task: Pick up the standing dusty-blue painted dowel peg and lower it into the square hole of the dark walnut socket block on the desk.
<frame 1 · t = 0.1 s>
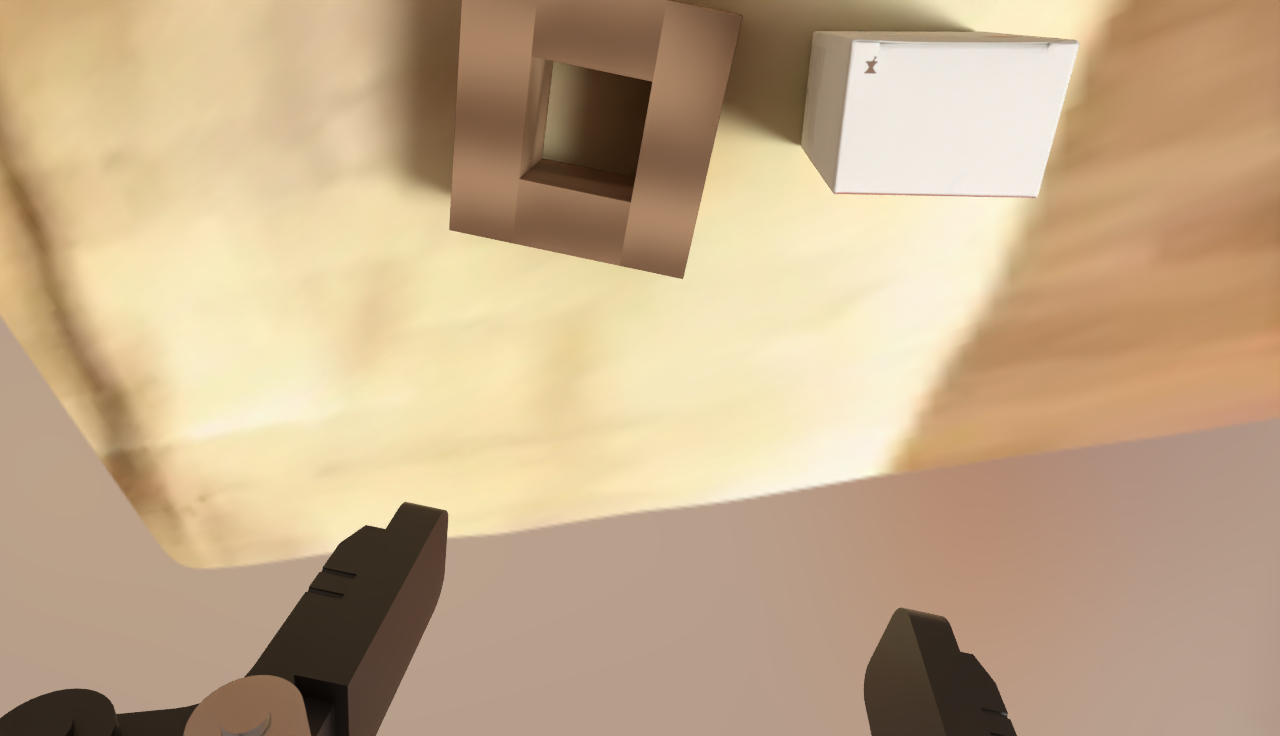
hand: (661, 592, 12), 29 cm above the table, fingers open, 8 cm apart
socket block: (599, 116, 37), on the table
small box: (885, 90, 35), on the table
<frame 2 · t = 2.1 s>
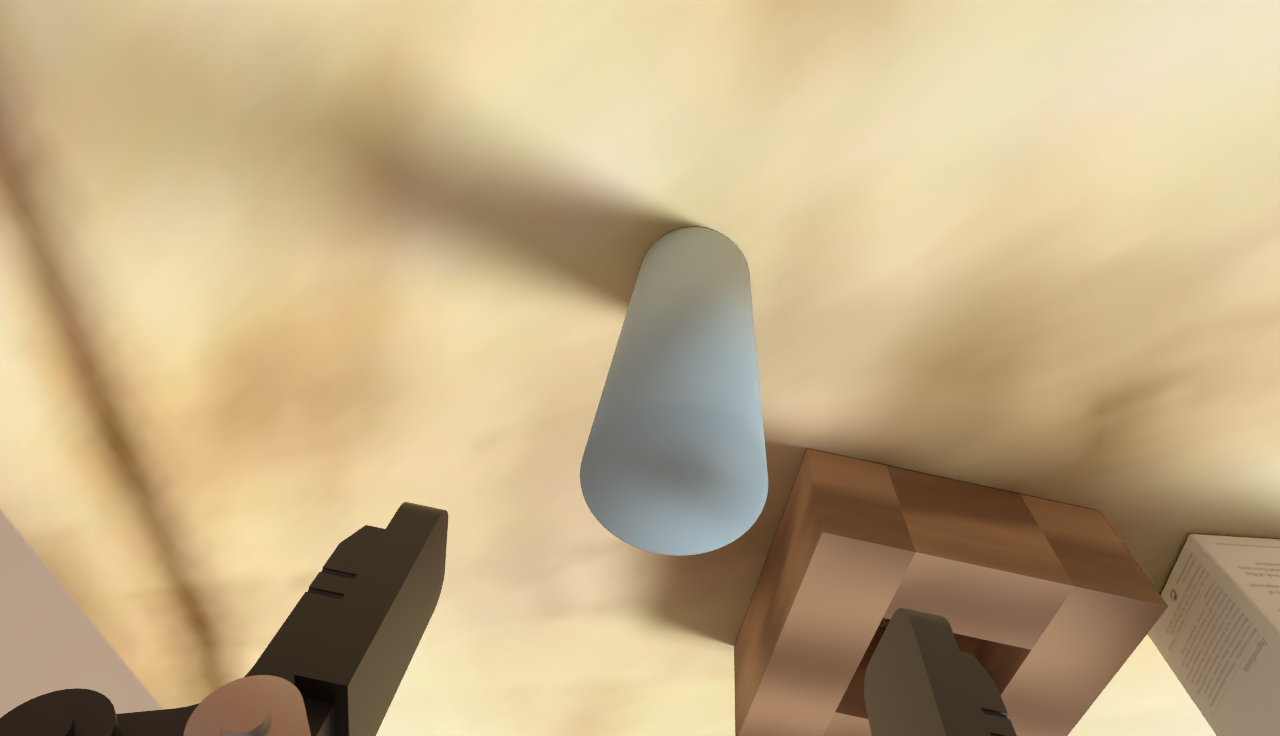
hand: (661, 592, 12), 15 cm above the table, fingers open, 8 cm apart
peg: (693, 280, 25), on the table
socket block: (899, 585, 31), on the table
small box: (1260, 583, 29), on the table
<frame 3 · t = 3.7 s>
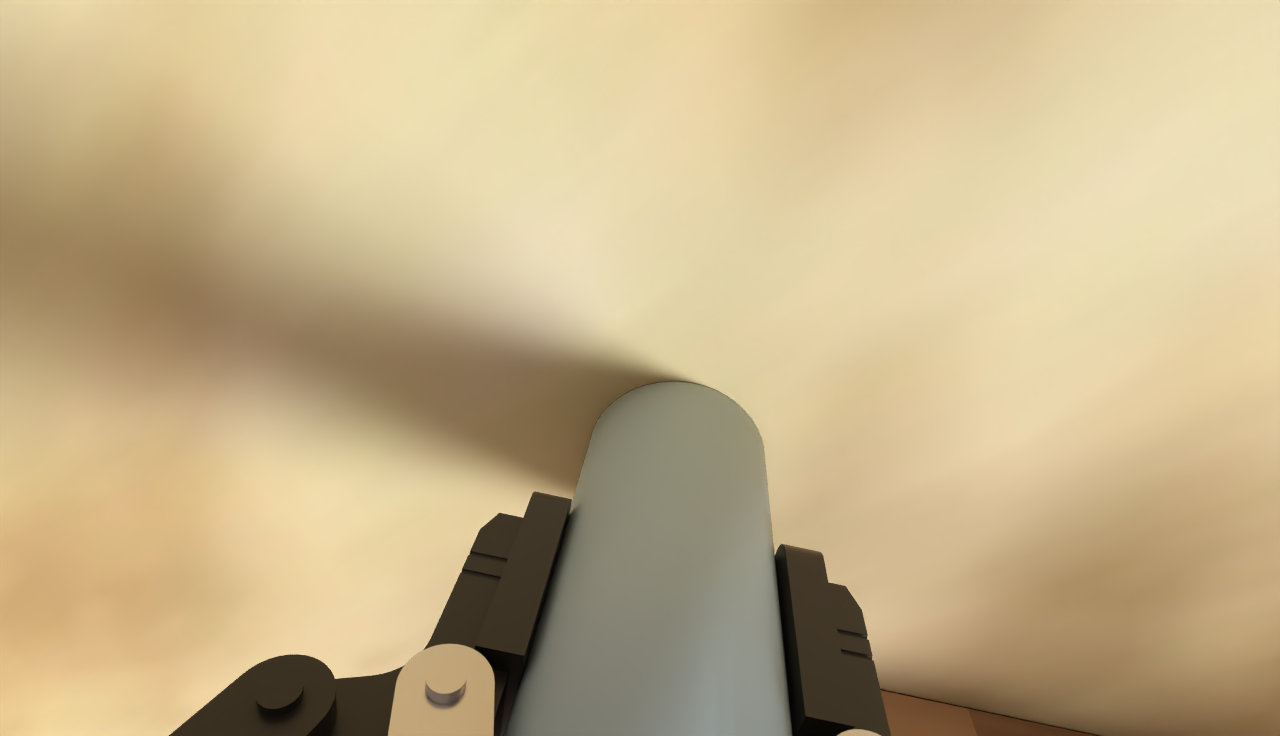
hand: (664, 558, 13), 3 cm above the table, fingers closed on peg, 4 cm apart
peg: (675, 458, 16), on the table, touching gripper
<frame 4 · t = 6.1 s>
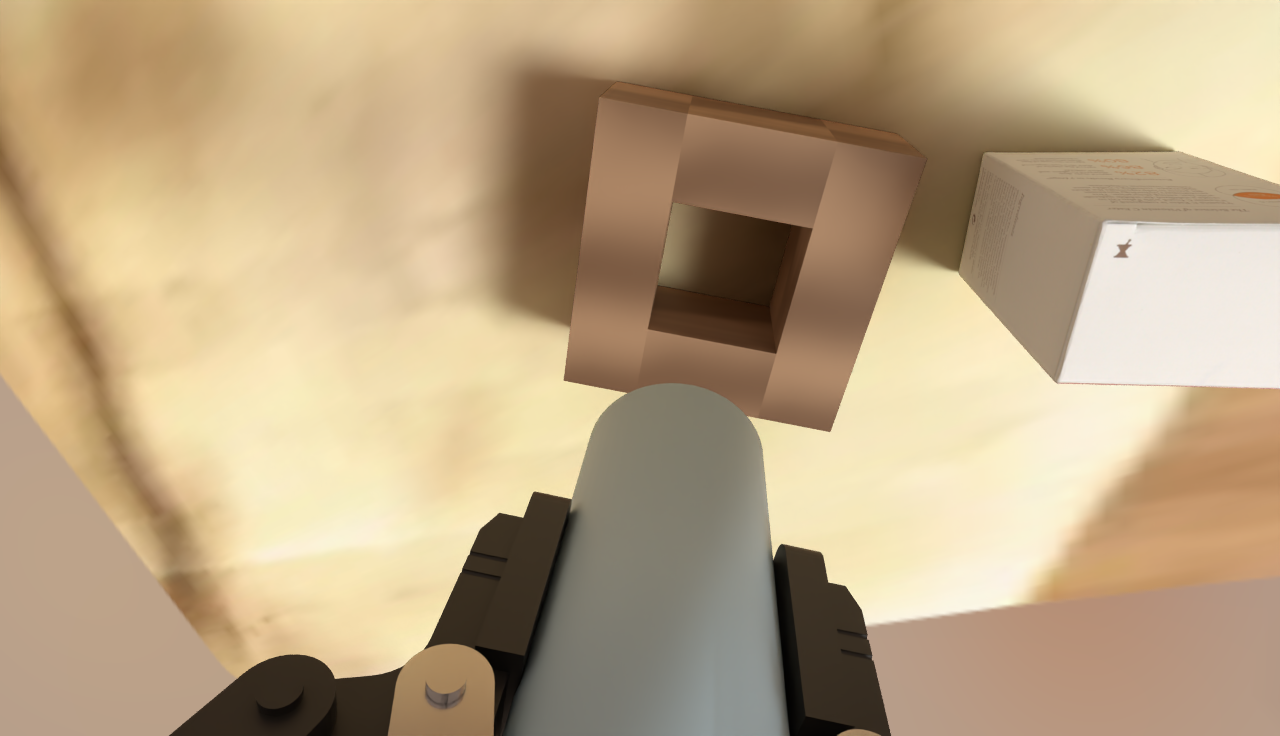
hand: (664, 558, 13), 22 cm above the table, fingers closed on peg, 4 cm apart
peg: (674, 459, 16), point 18 cm above the table, touching gripper
socket block: (725, 242, 33), on the table
small box: (1061, 213, 31), on the table
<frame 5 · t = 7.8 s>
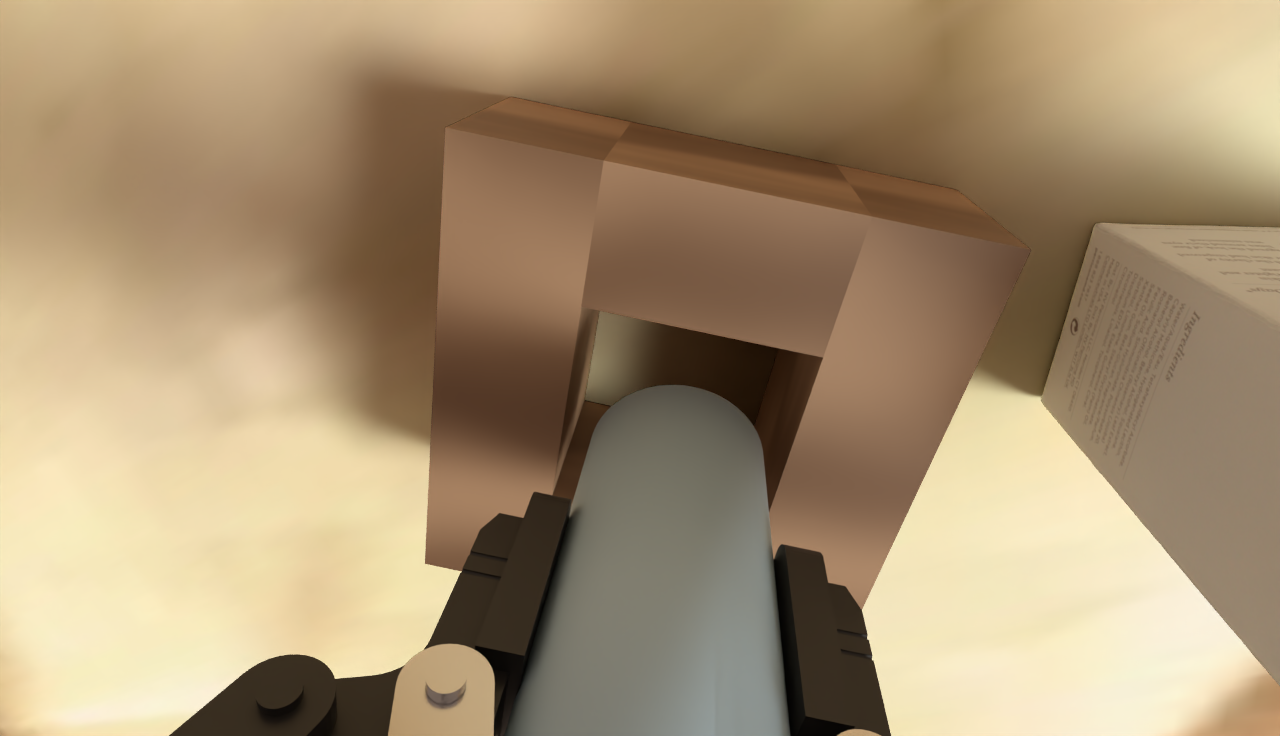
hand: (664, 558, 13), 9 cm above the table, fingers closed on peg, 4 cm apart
peg: (675, 461, 16), point 6 cm above the table, touching gripper
socket block: (685, 343, 21), on the table
small box: (1206, 316, 20), on the table
when the fingers open (6 cm above the table, at t = 8.7 s): peg drops 3 cm, resting in socket block.
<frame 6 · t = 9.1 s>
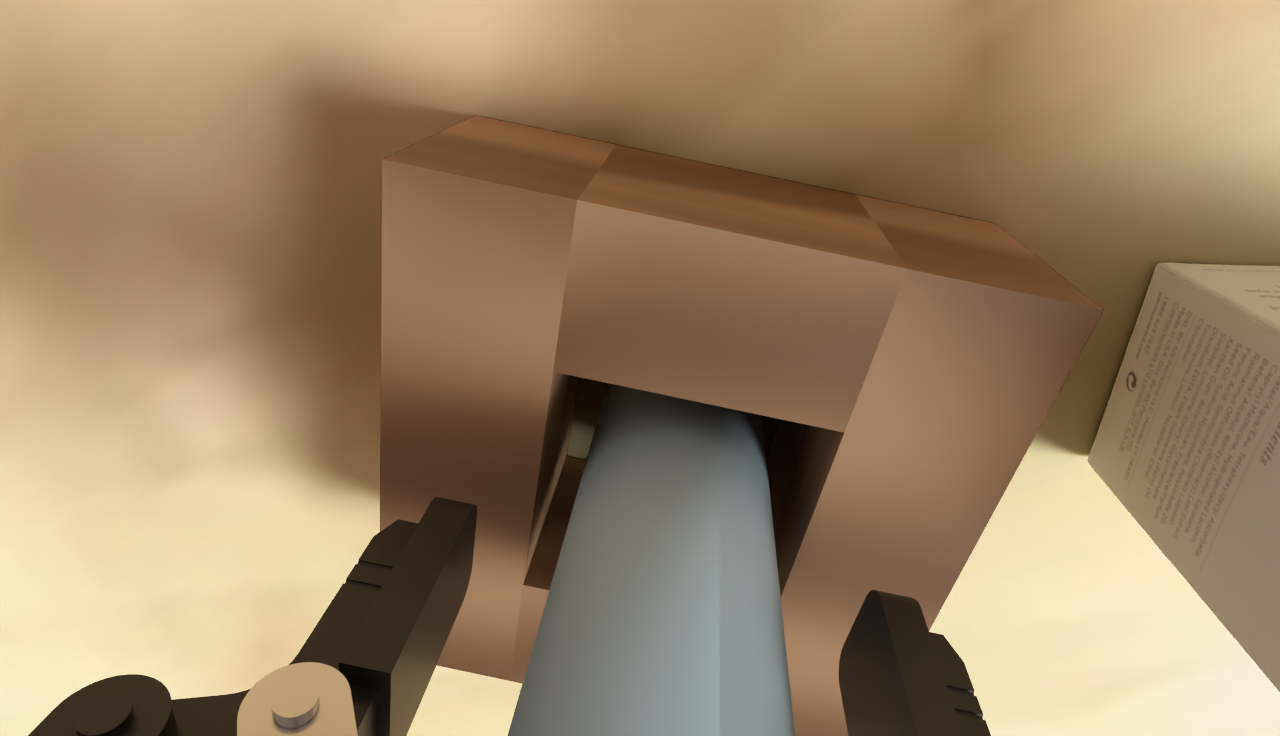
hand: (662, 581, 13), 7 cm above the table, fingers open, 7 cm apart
peg: (683, 395, 19), resting in socket block
socket block: (680, 394, 19), on the table
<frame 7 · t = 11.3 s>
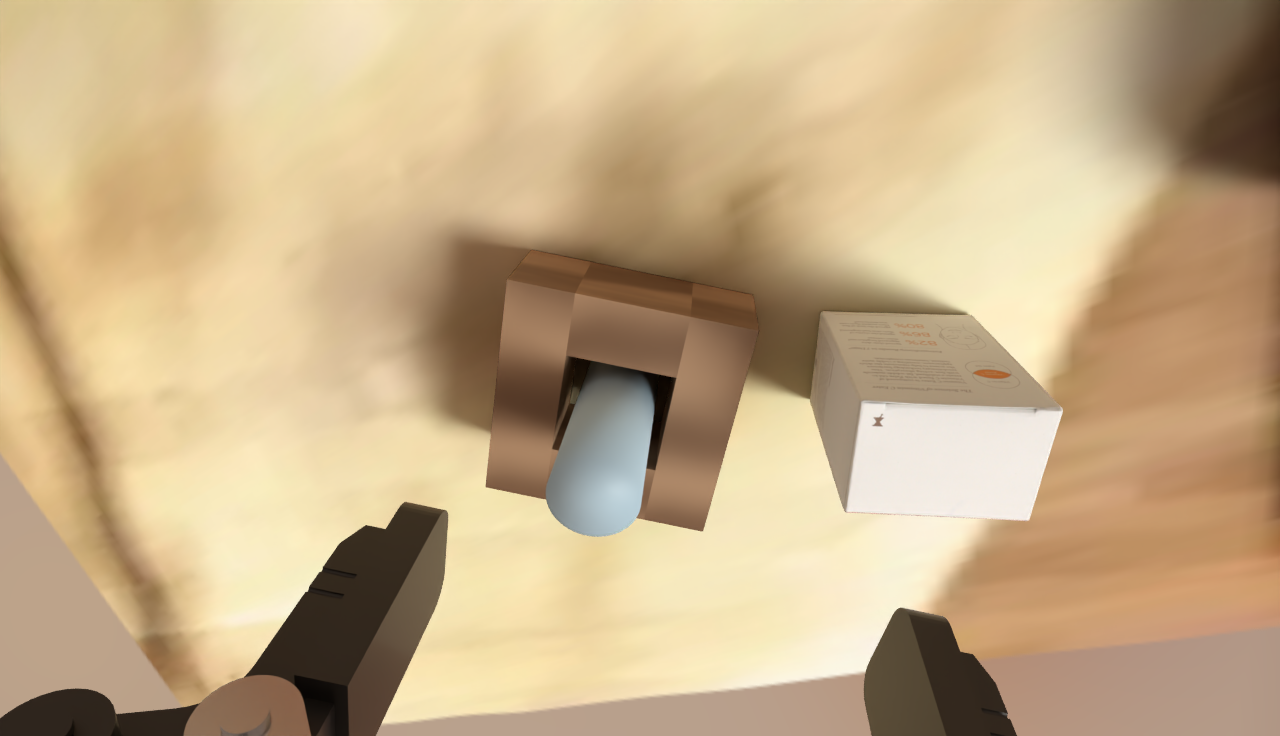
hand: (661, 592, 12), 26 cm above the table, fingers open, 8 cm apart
peg: (624, 372, 40), resting in socket block
socket block: (623, 371, 40), on the table
small box: (887, 356, 38), on the table
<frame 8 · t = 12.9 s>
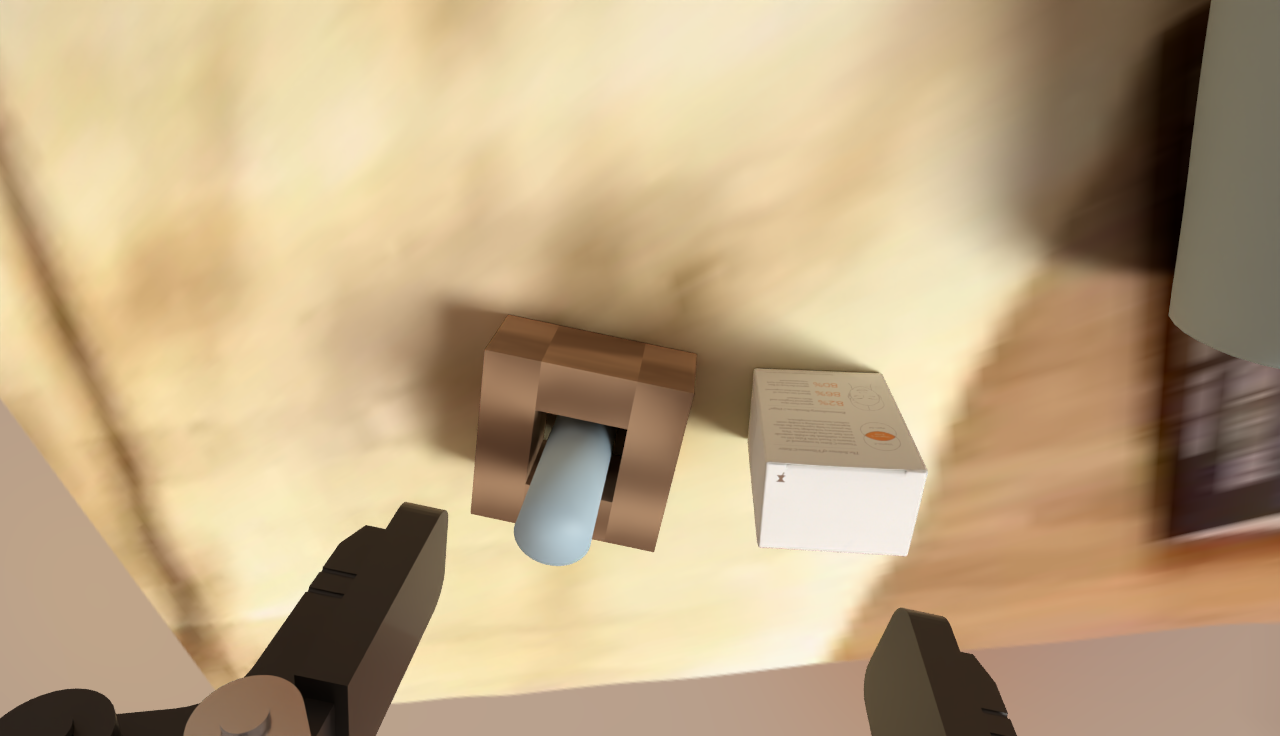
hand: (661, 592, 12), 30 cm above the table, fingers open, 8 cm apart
peg: (589, 414, 47), resting in socket block
socket block: (588, 414, 47), on the table
small box: (812, 405, 45), on the table
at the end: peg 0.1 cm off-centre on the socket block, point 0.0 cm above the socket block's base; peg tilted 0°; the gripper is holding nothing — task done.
